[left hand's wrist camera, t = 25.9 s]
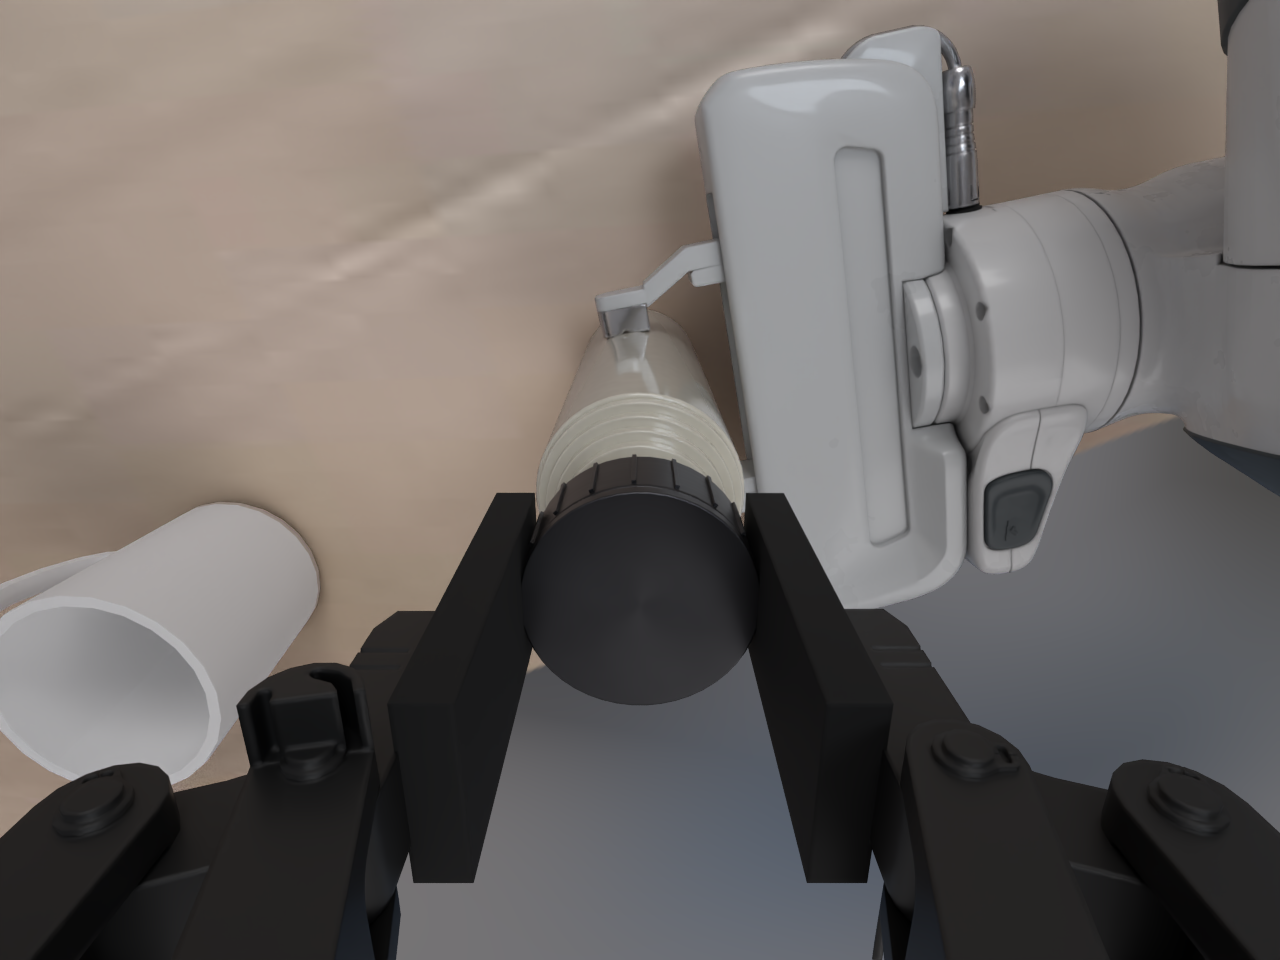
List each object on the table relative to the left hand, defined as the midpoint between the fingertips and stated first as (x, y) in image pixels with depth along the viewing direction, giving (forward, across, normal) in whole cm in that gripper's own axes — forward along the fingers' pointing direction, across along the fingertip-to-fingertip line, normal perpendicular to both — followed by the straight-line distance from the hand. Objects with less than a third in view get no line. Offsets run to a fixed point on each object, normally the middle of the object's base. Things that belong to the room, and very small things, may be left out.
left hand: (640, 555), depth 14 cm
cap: (-2, 0, 0) cm, 2 cm away
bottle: (+20, 0, 0) cm, 20 cm away
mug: (+20, -21, -10) cm, 31 cm away
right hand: (+14, -1, 0) cm, 14 cm away
